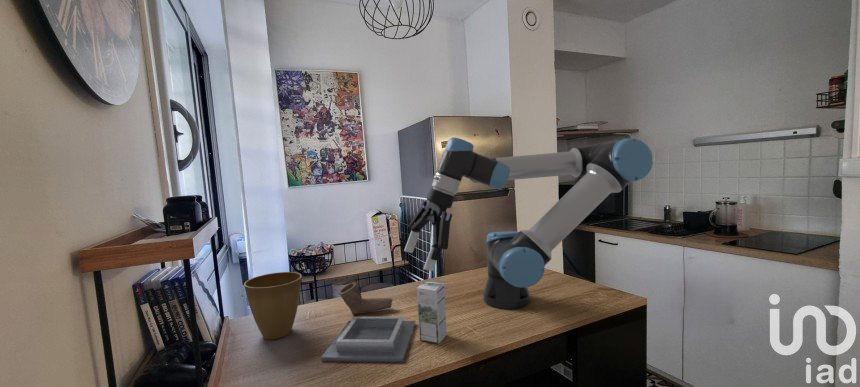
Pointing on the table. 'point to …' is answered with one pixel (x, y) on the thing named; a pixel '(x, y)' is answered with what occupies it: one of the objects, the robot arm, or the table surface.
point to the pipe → (362, 300)
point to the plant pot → (274, 302)
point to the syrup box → (431, 312)
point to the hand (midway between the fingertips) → (417, 260)
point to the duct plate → (371, 340)
